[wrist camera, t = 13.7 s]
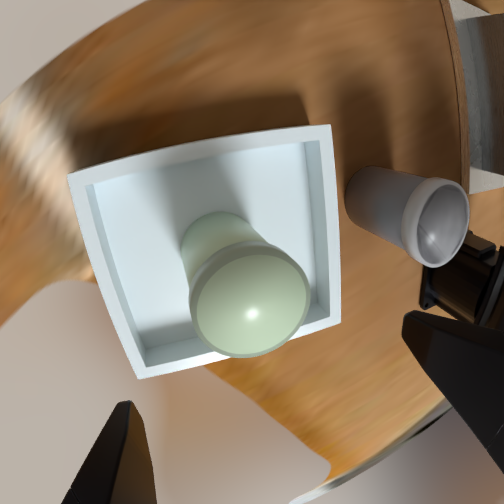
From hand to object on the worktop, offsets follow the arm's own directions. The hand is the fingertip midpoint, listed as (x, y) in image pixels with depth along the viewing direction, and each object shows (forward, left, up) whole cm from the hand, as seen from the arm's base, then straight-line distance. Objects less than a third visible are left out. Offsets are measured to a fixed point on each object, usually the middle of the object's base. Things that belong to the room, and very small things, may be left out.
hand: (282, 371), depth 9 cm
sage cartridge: (0, 0, -11) cm, 11 cm away
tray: (0, 0, -11) cm, 11 cm away
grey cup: (+1, -11, -11) cm, 16 cm away
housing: (+9, -26, -11) cm, 30 cm away
